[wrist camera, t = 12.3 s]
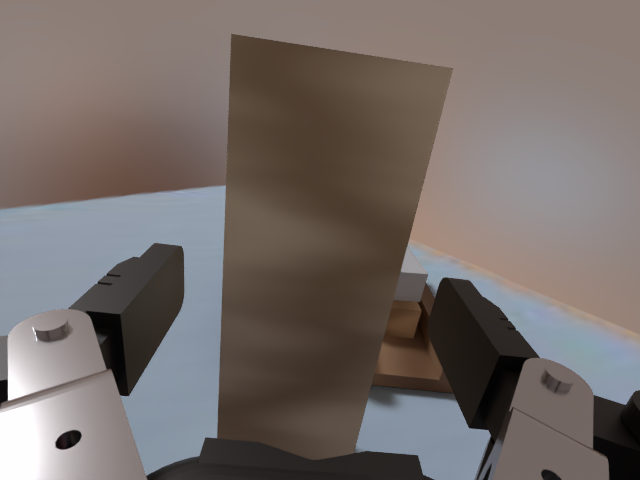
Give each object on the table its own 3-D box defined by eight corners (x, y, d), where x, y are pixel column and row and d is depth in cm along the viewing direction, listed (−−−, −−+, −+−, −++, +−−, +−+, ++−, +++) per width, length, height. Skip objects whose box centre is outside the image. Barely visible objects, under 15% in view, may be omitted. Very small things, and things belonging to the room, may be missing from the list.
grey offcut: (368, 298, 27) (375, 269, 26) (351, 254, 33) (356, 230, 32) (420, 301, 27) (428, 274, 26) (393, 258, 34) (399, 234, 33)
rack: (224, 369, 23) (226, 331, 22) (261, 257, 38) (263, 231, 36) (452, 393, 24) (466, 357, 23) (401, 275, 38) (408, 249, 37)
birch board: (212, 581, 13) (231, 34, 6) (248, 420, 20) (278, 59, 13) (318, 590, 14) (453, 68, 6) (320, 428, 20) (389, 76, 13)
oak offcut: (357, 332, 27) (364, 304, 26) (349, 278, 34) (354, 255, 33) (413, 338, 27) (421, 310, 26) (392, 283, 34) (398, 260, 33)
